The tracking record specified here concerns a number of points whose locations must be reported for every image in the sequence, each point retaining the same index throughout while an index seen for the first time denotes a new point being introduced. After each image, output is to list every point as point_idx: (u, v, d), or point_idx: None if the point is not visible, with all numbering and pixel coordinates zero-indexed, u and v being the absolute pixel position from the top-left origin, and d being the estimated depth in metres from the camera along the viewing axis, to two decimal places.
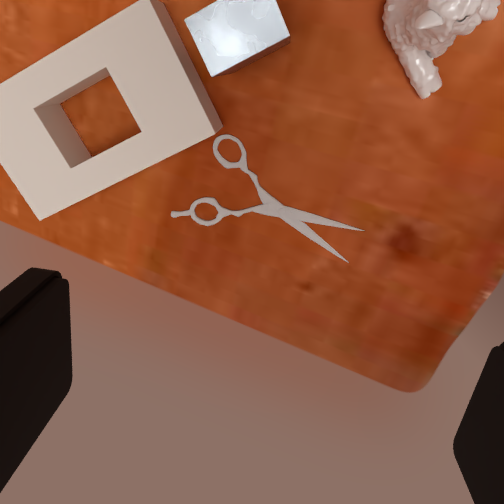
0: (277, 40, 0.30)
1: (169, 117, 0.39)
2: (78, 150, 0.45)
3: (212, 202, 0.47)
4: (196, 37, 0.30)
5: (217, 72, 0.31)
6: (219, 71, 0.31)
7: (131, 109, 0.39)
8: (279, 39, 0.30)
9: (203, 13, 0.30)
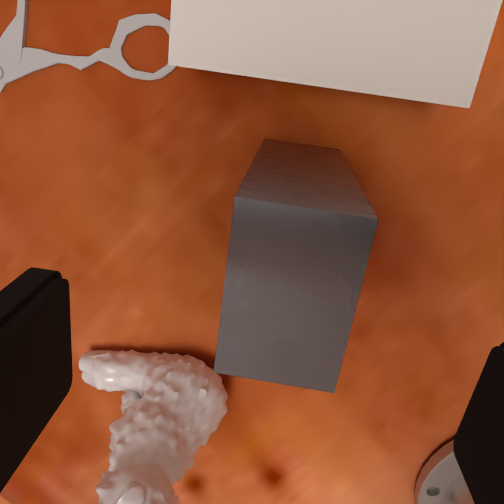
0: (219, 350, 0.14)
1: None
2: None
3: None
4: (328, 219, 0.12)
5: (235, 215, 0.13)
6: (234, 220, 0.13)
7: None
8: (218, 354, 0.14)
9: (358, 262, 0.13)
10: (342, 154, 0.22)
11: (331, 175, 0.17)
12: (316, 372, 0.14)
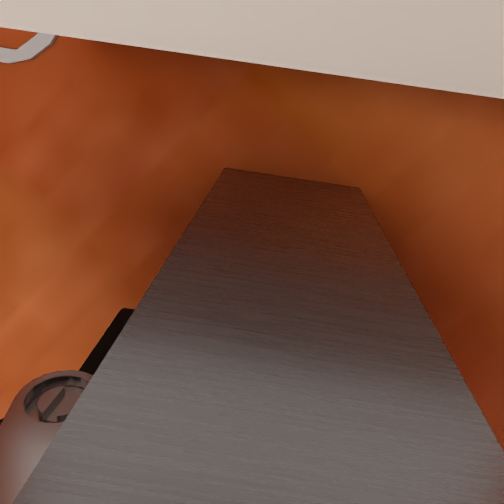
0: None
1: None
2: None
3: None
4: None
5: None
6: None
7: None
8: None
9: None
10: None
11: (361, 297, 0.07)
12: None
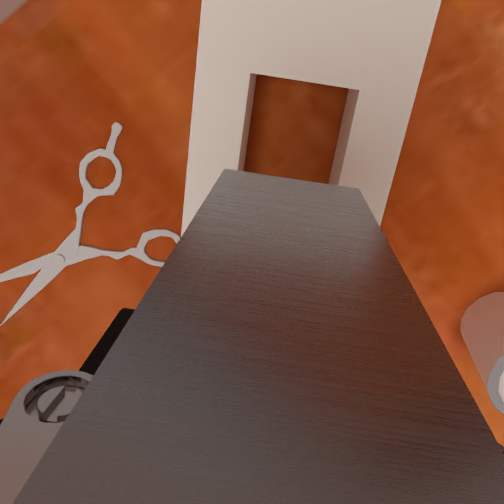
0: None
1: None
2: None
3: (109, 189, 0.33)
4: None
5: None
6: None
7: None
8: None
9: None
10: (366, 202, 0.12)
11: (361, 299, 0.07)
12: None
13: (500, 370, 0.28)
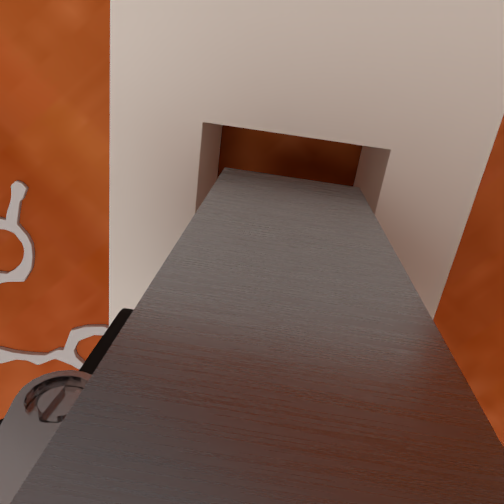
0: None
1: None
2: None
3: (16, 273, 0.22)
4: None
5: None
6: None
7: None
8: None
9: None
10: (366, 201, 0.12)
11: (362, 296, 0.07)
12: None
13: None
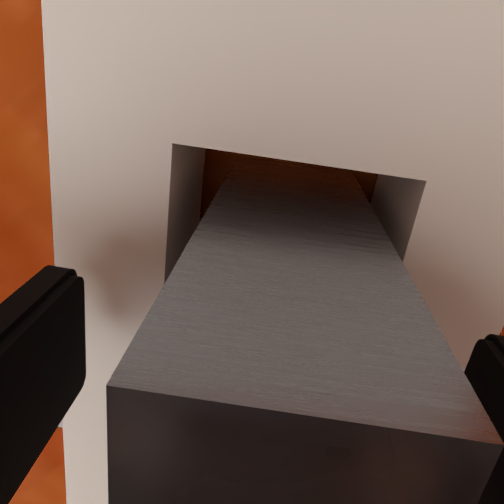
0: None
1: None
2: None
3: None
4: (363, 440, 0.05)
5: (114, 425, 0.05)
6: (114, 434, 0.05)
7: None
8: None
9: None
10: None
11: (348, 242, 0.09)
12: None
13: None
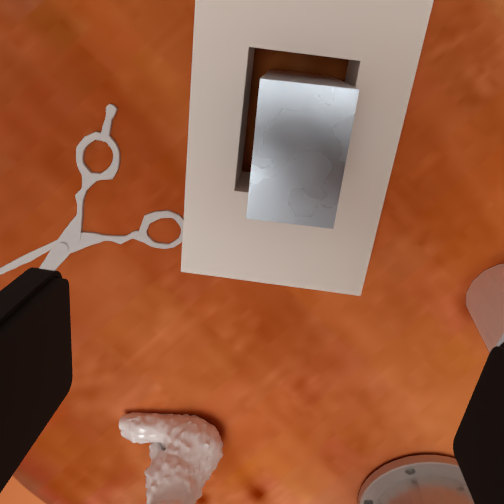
0: (249, 200, 0.20)
1: (229, 234, 0.28)
2: None
3: (107, 173, 0.32)
4: (324, 91, 0.18)
5: (260, 92, 0.18)
6: (260, 96, 0.18)
7: None
8: (249, 203, 0.20)
9: (346, 123, 0.18)
10: None
11: None
12: (319, 212, 0.20)
13: None
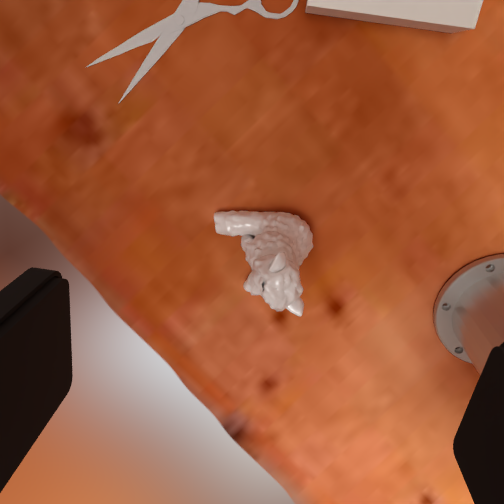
0: None
1: None
2: None
3: None
4: None
5: None
6: None
7: None
8: None
9: None
10: None
11: None
12: None
13: None
